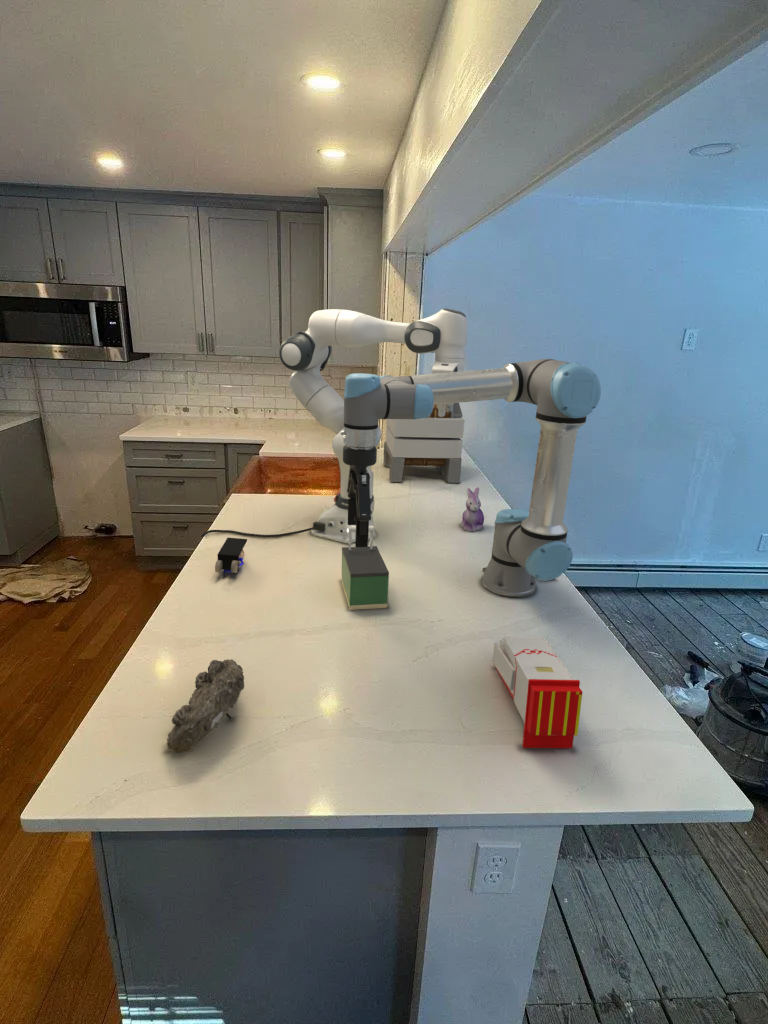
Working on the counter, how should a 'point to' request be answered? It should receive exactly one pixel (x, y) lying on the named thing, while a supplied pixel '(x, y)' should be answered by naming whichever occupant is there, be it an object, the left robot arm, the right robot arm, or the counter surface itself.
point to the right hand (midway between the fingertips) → (357, 535)
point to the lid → (364, 558)
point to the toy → (539, 691)
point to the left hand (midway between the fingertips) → (445, 413)
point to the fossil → (206, 705)
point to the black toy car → (230, 556)
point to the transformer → (425, 443)
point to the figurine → (473, 512)
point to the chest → (364, 590)
